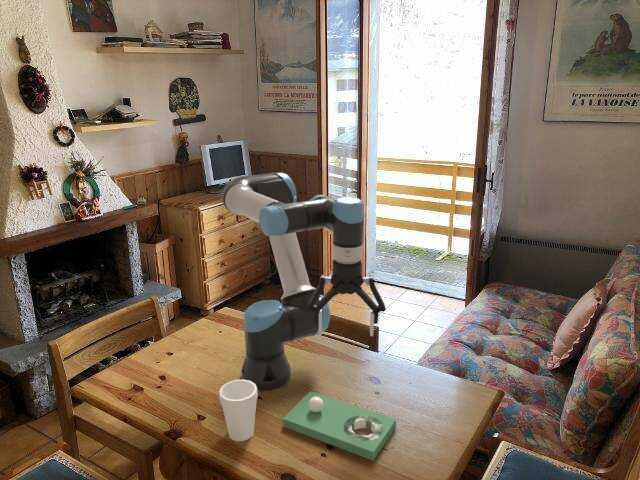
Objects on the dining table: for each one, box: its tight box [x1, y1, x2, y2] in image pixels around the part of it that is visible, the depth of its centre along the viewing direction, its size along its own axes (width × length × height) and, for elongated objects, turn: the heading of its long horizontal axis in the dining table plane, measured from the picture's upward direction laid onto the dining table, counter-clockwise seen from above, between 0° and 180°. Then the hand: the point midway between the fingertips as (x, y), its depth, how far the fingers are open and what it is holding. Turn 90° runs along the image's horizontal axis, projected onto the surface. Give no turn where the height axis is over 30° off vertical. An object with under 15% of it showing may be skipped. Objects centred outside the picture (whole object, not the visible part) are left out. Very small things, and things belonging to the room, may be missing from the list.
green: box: [282, 391, 397, 461], centre depth 136 cm, size 26×14×2 cm, turn 60°
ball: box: [309, 397, 324, 413], centre depth 139 cm, size 4×4×4 cm
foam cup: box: [218, 378, 259, 442], centre depth 133 cm, size 10×9×13 cm
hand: (345, 333), depth 139 cm, fingers open, 13 cm apart
